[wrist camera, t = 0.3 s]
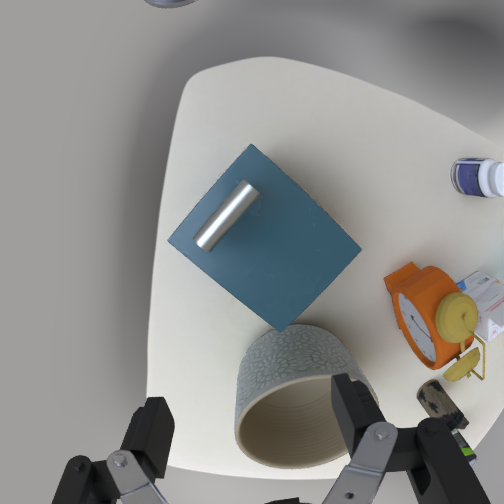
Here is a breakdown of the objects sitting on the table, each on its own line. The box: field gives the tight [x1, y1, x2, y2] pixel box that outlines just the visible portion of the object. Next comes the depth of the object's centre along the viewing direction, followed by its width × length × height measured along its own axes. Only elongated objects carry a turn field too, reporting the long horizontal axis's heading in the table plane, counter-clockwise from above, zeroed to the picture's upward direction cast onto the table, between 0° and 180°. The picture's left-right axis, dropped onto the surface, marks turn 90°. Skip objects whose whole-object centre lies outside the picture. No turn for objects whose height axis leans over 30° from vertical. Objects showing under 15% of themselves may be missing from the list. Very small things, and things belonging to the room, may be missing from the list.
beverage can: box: [451, 429, 478, 468], centre depth 45 cm, size 6×6×15 cm
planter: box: [234, 324, 379, 469], centre depth 36 cm, size 17×17×15 cm
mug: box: [417, 380, 469, 431], centre depth 42 cm, size 8×6×12 cm
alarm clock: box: [384, 262, 485, 382], centre depth 32 cm, size 13×6×20 cm, turn 27°
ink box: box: [457, 271, 504, 342], centre depth 35 cm, size 8×5×15 cm, turn 113°
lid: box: [168, 144, 362, 333], centre depth 25 cm, size 14×12×5 cm
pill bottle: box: [451, 158, 504, 198], centre depth 33 cm, size 6×6×10 cm
